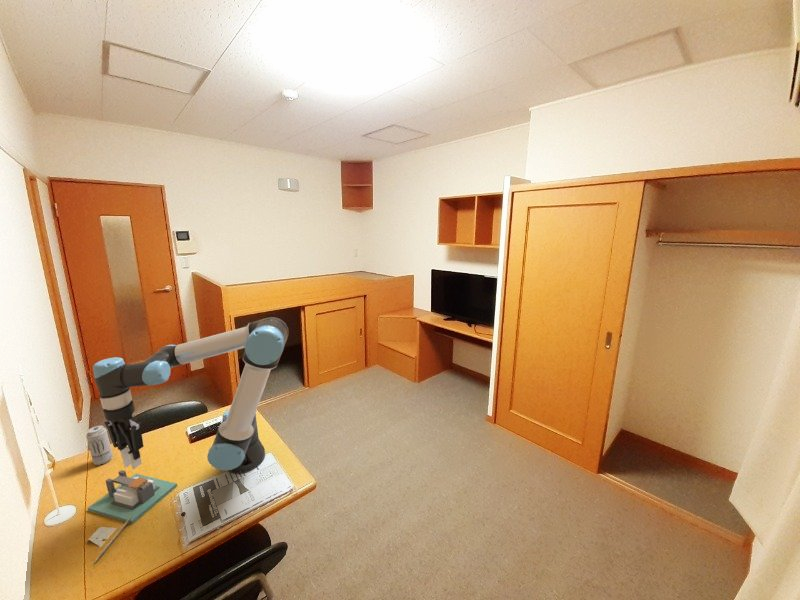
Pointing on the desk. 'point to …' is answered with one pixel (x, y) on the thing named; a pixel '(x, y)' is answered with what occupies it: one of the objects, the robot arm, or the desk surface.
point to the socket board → (139, 509)
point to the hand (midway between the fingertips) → (133, 465)
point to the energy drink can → (99, 445)
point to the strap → (132, 482)
